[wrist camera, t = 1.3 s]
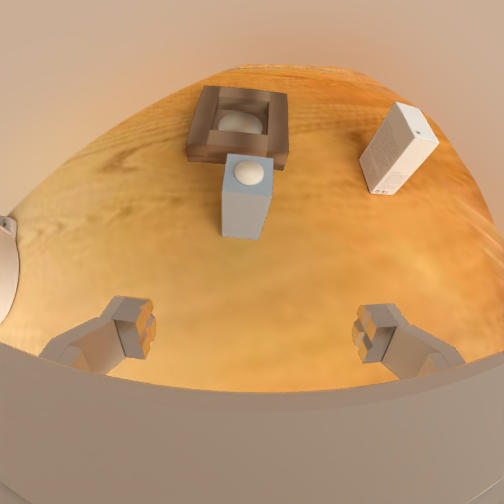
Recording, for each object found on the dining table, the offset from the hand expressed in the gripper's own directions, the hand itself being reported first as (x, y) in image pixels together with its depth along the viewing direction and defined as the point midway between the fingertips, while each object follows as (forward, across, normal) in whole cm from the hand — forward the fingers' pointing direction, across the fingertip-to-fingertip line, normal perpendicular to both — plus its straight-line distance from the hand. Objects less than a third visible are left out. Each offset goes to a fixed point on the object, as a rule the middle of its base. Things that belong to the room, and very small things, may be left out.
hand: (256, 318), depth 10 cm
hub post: (+21, +1, +3) cm, 21 cm away
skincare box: (+28, -18, -3) cm, 33 cm away
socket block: (+30, +2, -7) cm, 31 cm away
